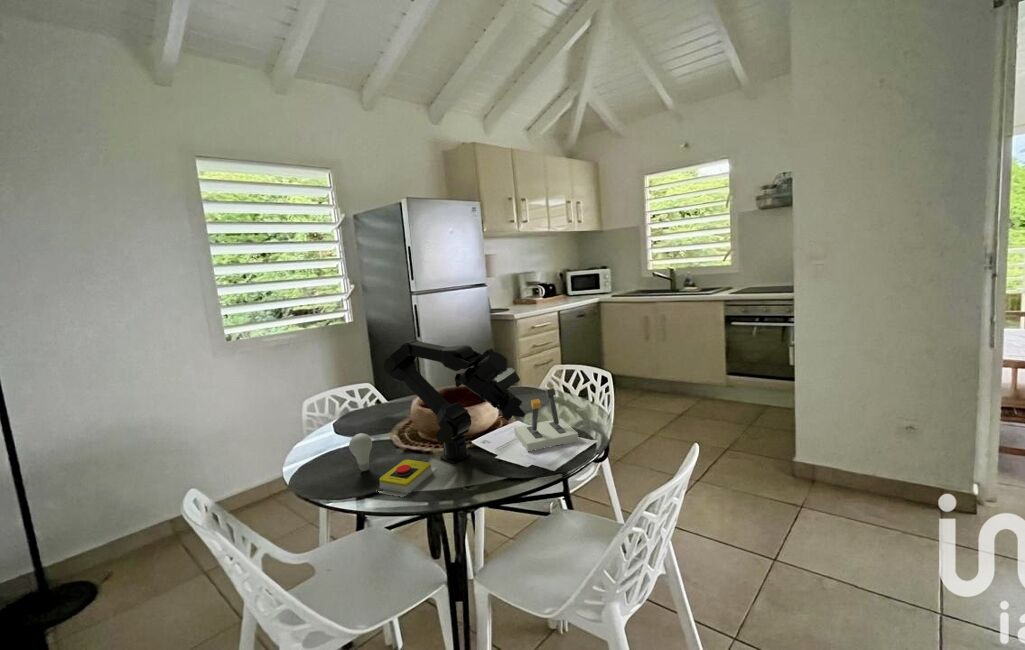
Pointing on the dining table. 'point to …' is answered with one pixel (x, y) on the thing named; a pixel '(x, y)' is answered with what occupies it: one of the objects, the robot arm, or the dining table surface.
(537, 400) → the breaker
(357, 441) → the lightbulb
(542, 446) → the breaker panel
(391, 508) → the dining table surface
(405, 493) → the emergency button
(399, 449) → the dining table surface
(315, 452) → the dining table surface
